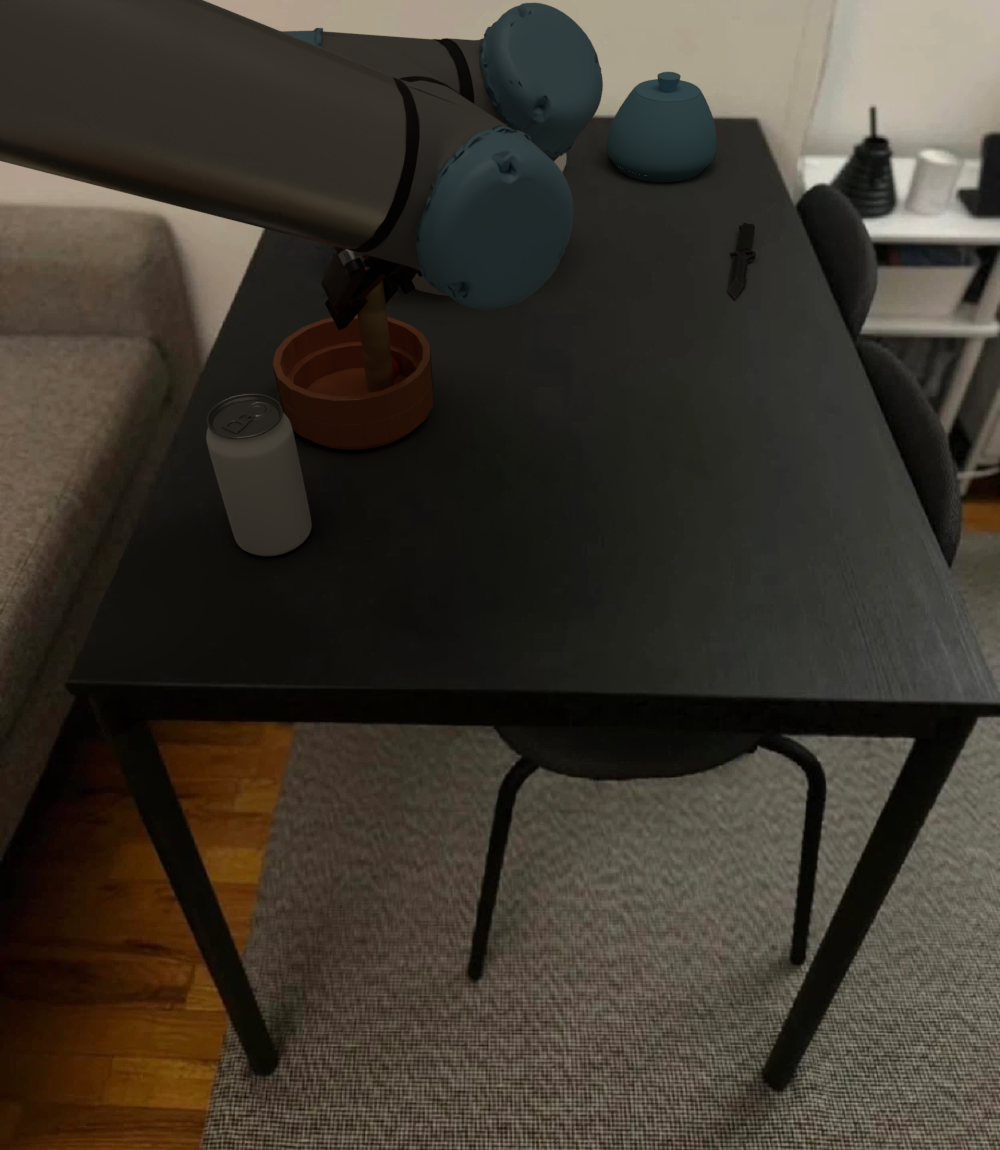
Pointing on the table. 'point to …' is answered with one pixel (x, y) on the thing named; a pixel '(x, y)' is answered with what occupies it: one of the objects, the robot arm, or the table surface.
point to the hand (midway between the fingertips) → (350, 309)
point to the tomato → (394, 367)
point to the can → (259, 474)
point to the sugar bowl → (663, 131)
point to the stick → (376, 341)
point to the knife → (741, 259)
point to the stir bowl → (352, 385)
